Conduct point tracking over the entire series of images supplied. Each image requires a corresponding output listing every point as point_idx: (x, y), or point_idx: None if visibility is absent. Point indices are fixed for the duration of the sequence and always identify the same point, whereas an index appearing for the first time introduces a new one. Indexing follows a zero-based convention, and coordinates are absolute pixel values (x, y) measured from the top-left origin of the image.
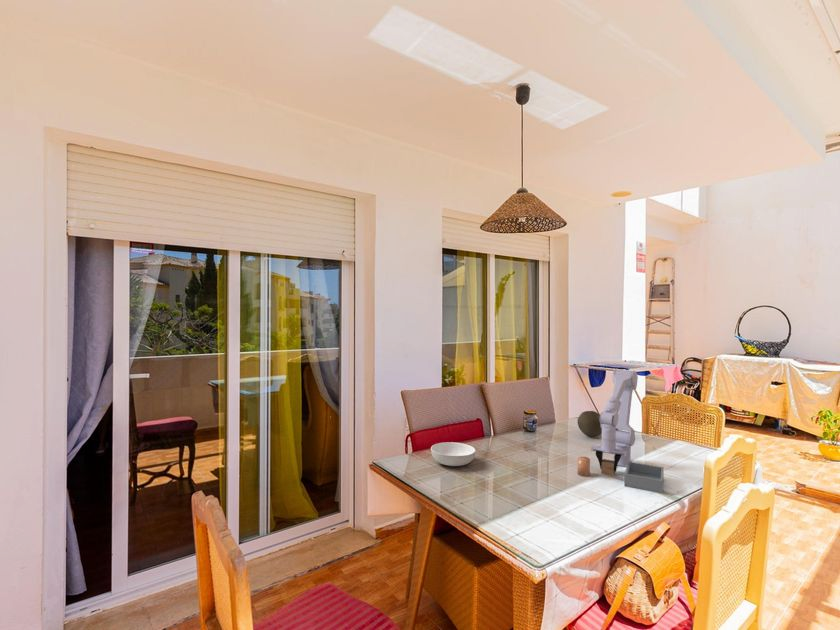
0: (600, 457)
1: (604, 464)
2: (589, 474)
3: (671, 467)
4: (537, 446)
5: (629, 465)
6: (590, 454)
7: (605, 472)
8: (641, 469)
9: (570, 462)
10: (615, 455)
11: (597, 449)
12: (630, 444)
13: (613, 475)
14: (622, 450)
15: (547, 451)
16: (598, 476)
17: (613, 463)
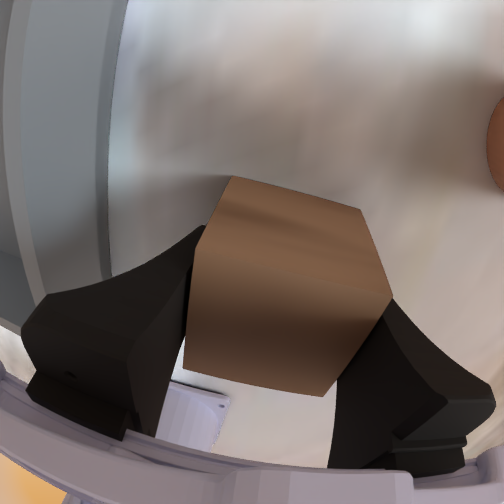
0: (419, 364)
1: (346, 265)
2: (501, 115)
3: (9, 365)
4: (498, 442)
5: (23, 258)
6: (324, 458)
7: (321, 205)
8: (9, 280)
9: (493, 362)
10: (120, 402)
11: (473, 491)
12: (70, 499)
13: (233, 177)
14: (18, 463)
15: (499, 426)
16: (413, 103)
17: (200, 283)
